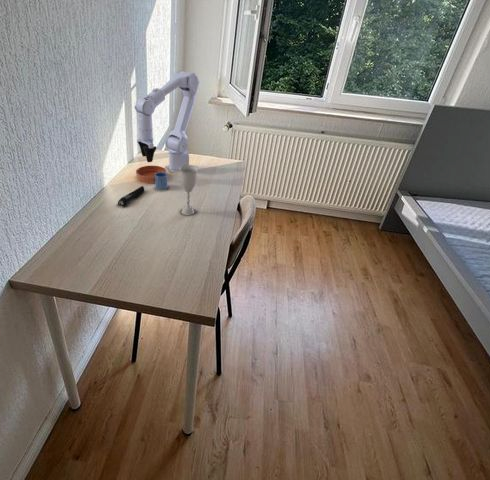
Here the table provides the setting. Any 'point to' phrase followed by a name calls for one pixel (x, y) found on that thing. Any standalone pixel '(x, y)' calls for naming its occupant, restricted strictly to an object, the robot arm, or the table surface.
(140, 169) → the bowl
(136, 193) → the electric trimmer
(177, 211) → the table surface
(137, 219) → the table surface
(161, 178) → the blue cup
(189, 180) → the chalice
